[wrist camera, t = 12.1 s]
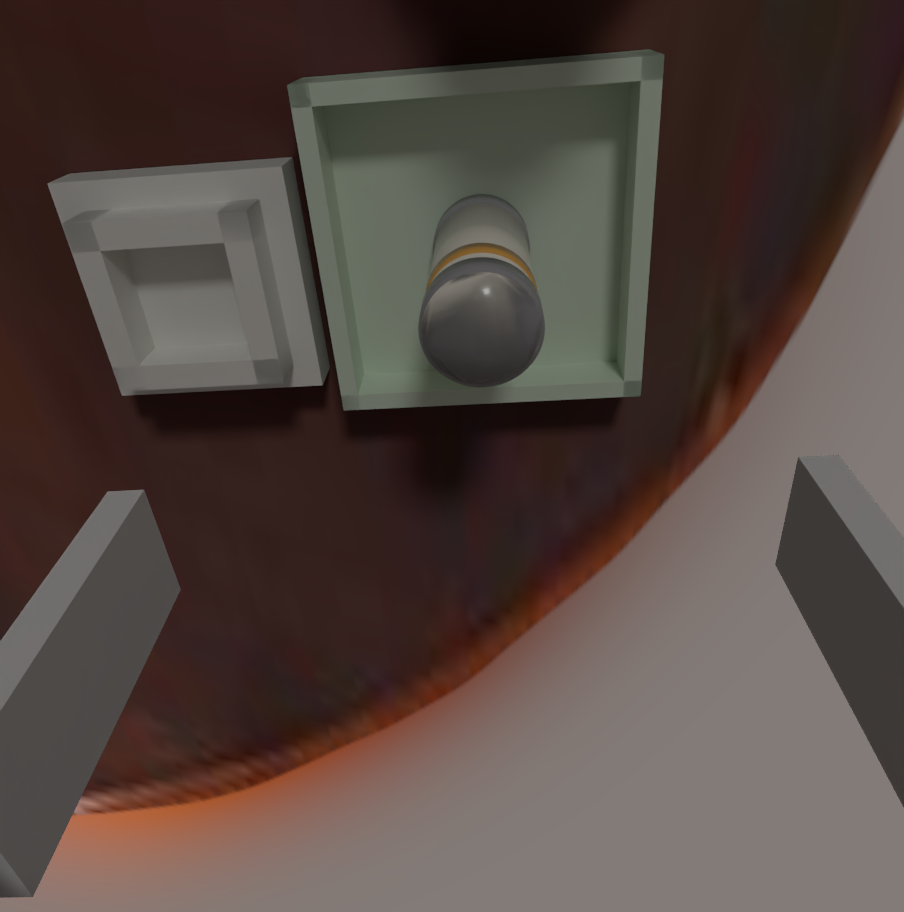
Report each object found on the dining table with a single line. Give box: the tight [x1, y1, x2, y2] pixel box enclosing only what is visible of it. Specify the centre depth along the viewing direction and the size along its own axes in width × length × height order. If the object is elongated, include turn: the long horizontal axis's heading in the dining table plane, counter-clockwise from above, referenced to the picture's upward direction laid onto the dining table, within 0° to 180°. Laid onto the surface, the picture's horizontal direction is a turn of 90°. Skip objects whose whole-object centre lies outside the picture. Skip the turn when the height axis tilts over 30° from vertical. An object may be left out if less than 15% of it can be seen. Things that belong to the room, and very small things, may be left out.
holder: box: [47, 157, 330, 396], centre depth 33 cm, size 10×10×4 cm
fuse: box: [418, 194, 545, 387], centre depth 29 cm, size 4×4×10 cm
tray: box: [287, 49, 664, 411], centre depth 32 cm, size 14×14×3 cm
